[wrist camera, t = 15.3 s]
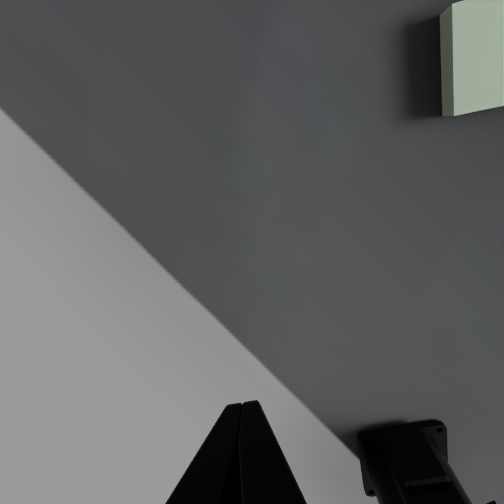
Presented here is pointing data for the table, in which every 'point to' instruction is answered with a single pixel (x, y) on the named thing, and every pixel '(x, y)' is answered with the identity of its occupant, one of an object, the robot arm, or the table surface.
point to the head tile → (472, 56)
